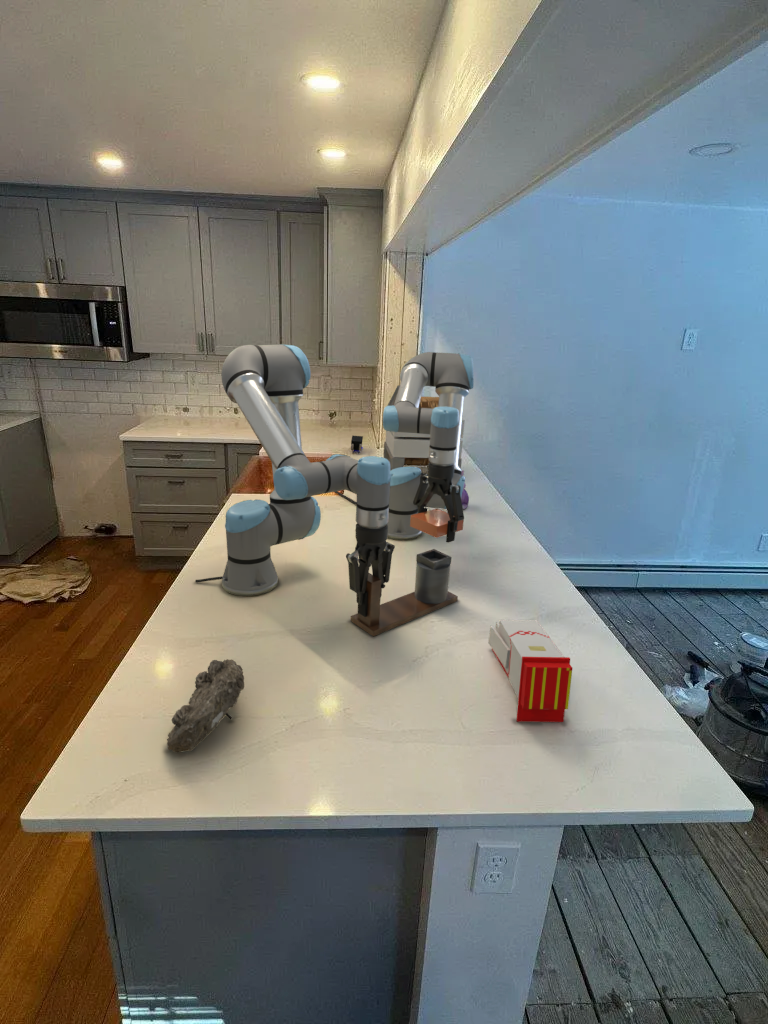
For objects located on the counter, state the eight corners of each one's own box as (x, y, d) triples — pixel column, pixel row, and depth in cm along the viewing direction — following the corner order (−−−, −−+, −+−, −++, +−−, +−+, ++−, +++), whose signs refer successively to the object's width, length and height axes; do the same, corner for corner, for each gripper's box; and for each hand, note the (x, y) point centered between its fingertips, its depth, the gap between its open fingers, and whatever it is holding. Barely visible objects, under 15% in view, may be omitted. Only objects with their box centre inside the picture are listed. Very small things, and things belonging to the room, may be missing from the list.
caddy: (373, 636, 137) (375, 586, 132) (350, 621, 143) (351, 572, 139) (457, 601, 156) (461, 556, 151) (434, 588, 162) (437, 545, 157)
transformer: (382, 463, 289) (386, 382, 275) (445, 464, 293) (451, 384, 279) (390, 482, 257) (394, 392, 243) (460, 483, 261) (468, 394, 247)
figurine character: (362, 457, 305) (363, 447, 318) (362, 443, 301) (363, 434, 315) (350, 456, 304) (351, 447, 318) (350, 443, 301) (351, 434, 314)
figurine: (455, 512, 224) (459, 475, 218) (441, 504, 232) (444, 468, 227) (475, 509, 228) (478, 473, 223) (460, 501, 236) (463, 466, 231)
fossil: (192, 660, 117) (244, 628, 112) (224, 691, 120) (276, 661, 115) (142, 746, 98) (202, 712, 93) (182, 779, 101) (242, 748, 96)
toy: (535, 605, 135) (581, 664, 106) (530, 657, 138) (574, 728, 108) (484, 604, 135) (517, 662, 105) (480, 656, 137) (511, 727, 108)
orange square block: (436, 543, 160) (437, 526, 158) (409, 531, 167) (410, 515, 166) (462, 535, 166) (463, 518, 165) (435, 524, 174) (436, 508, 173)
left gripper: (354, 536, 124) (351, 629, 132) (408, 521, 134) (402, 608, 142) (334, 525, 130) (333, 615, 138) (387, 512, 140) (383, 597, 148)
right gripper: (403, 455, 166) (399, 525, 173) (463, 474, 149) (456, 551, 157) (422, 452, 170) (417, 521, 178) (482, 470, 154) (474, 544, 161)
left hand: (368, 612), depth 140 cm, fingers closed on caddy, 3 cm apart
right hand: (435, 535), depth 167 cm, fingers closed on orange square block, 11 cm apart
